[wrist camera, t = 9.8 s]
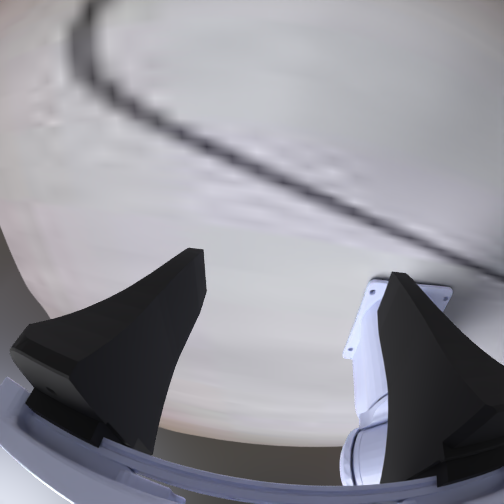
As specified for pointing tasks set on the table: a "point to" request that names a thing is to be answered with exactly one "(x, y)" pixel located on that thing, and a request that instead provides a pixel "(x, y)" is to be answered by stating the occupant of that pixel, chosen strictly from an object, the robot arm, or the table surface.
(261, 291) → the table surface
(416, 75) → the table surface
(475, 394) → the robot arm
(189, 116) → the table surface
